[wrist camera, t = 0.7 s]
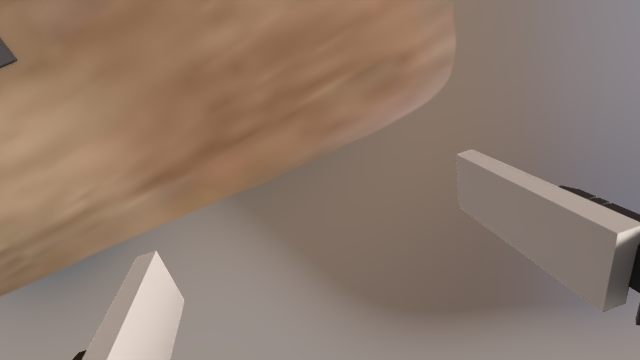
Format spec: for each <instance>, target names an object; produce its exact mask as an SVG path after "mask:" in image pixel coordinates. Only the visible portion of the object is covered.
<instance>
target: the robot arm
mask: <svg viewBox="0 0 640 360" xmlns="http://www.w3.org/2000/svg"><path fill="white" fill-rule="evenodd" d="M456 159H457V160H456V161H457V177H458V195H459V208H461V209H462V210H464V211H465V212H466V213H468V214H469V215H470V216H472V217H473V218H475V219H476V220H477V221H478V222H480V223H481V224H483V225H484V226H485V227H487V228H488V229H489V230H491V231H492V232H493V233H495V234H496V235H498V236H499V237H500V238H502V239H503V240H504V241H506V242H507V243H508V244H510V245H511V246H513V247H514V248H515V249H517V250H518V251H519V252H521V253H522V254H523V255H525V256H526V257H528V258H529V259H530V260H532V261H533V262H534V263H536V264H537V265H539V266H540V267H541V268H543V269H544V270H545V271H547V272H548V273H550V274H551V275H552V276H554V277H555V278H556V279H558V280H559V281H560V282H562V283H563V284H564V285H566V286H567V287H569V288H570V289H571V290H573V291H574V292H575V293H577V294H578V295H579V296H581V297H582V298H584V299H585V300H586V301H588V302H589V303H590V304H592V305H593V306H594V307H596V308H597V309H599V310H600V311H601V312H605V311H607V310H610V309H612V308H615V307H617V306H620V305H622V304H625V303H626V299H627V295H628V290H629V287H631V288H632V289H634V290H636V291H637V292H639V293H640V215H639V214H637V213H635V212H632V211H630V210H628V209H625V208H623V207H620V206H618V205H616V204H613V203H612V204H610V203H609V202H608V201H606V200H603V199H601V198H596V196H594V195H591V194H589V193H586V192H584V191H581V190H579V189H574V188H569V187H565V186H555V185H553V184H551V183H548V182H546V181H544V180H541V179H539V178H537V177H534V176H532V175H530V174H528V173H525V172H523V171H521V170H518V169H516V168H514V167H511V166H509V165H507V164H504V163H502V162H500V161H498V160H495V159H493V158H490V157H488V156H486V155H484V154H482V153H479V152H477V151H474V150H468V151H465V152H462V153H459V154H456ZM183 305H184V299H183V297H182V295H181V294H180V292H179V290H178V288H177V287H176V285H175V283H174V281H173V279H172V278H171V276H170V274H169V272H168V271H167V269H166V267H165V265H164V264H163V262H162V260H161V258H160V257H159V255H158V253H157V251H153V252H150V253H147V254H144V255H141V256H138V257H136V259H135V261H134V263H133V264H132V266H131V268H130V270H129V272H128V274H127V276H126V278H125V279H124V282H123V283H122V285H121V287H120V289H119V291H118V293H117V294H116V297H115V298H114V300H113V302H112V304H111V306H110V308H109V310H108V312H107V313H106V315H105V317H104V319H103V321H102V323H101V325H100V327H99V328H98V330H97V332H96V334H95V336H94V338H93V340H92V342H91V344H90V345H89V347H88V349H87V350H85V351H82V352H79V353H78V354H77V355H76V356H75V357H74V359H73V360H170V358H171V354H172V350H173V346H174V341H175V338H176V334H177V330H178V326H179V322H180V317H181V314H182V309H183ZM636 325H640V305H639V308H638V312H637V316H636Z"/></svg>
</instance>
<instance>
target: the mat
mask: <svg viewBox="0 0 640 360" xmlns="http://www.w3.org/2000/svg"><path fill="white" fill-rule="evenodd" d="M15 61H17V59H16V58H15V56H14V55H13V54H12V53H11V51H10V50H9V49H8V47H7V46H6V45H5V43H4V42H3V41H2V40H1V38H0V68H1V67H3V66H6V65H8V64H10V63H13V62H15Z"/></svg>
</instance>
